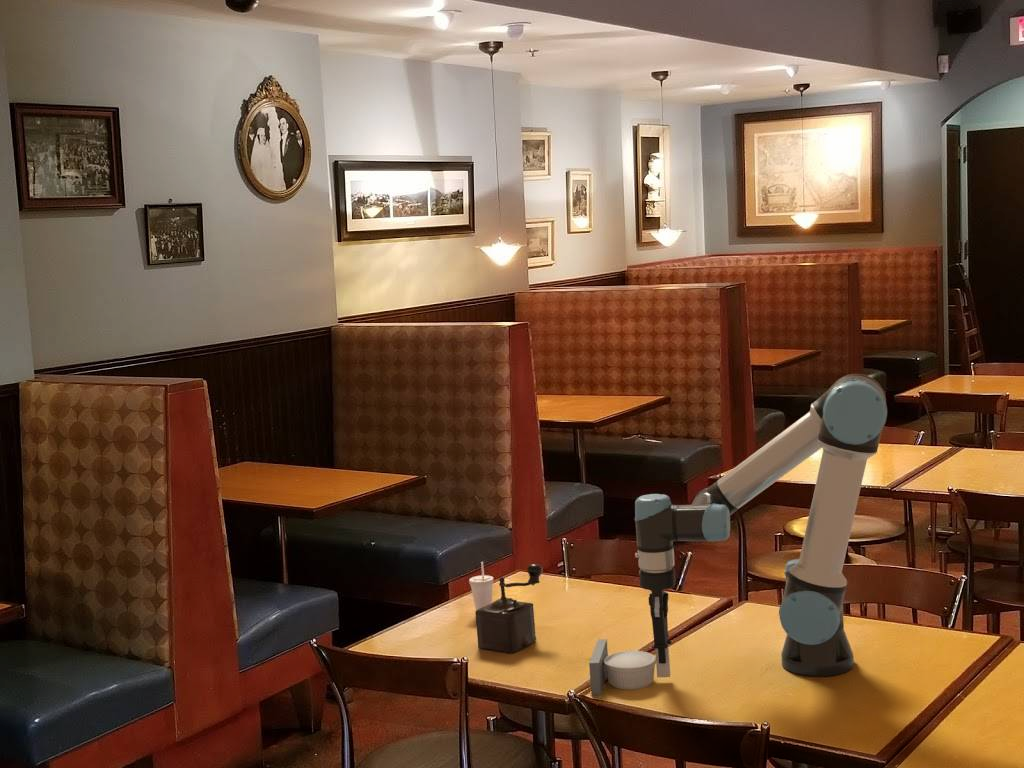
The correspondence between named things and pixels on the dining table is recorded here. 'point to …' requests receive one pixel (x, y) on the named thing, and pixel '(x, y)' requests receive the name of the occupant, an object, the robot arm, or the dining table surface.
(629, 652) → the ramekin
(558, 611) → the dining table surface
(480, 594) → the smoothie
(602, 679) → the board
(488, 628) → the coffee grinder
